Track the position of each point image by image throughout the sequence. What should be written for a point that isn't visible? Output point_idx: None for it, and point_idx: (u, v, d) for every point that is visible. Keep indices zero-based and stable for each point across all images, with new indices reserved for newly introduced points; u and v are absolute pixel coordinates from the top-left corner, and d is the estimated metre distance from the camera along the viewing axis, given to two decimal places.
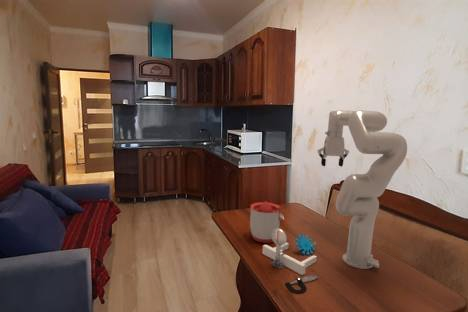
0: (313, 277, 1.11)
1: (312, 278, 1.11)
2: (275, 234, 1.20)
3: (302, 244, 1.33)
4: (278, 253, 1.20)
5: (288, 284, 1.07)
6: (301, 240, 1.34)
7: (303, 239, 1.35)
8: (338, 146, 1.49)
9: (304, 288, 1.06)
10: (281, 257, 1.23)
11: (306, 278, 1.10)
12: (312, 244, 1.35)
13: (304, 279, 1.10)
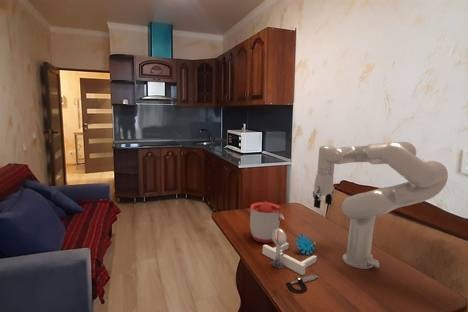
0: (313, 277, 1.12)
1: (312, 278, 1.12)
2: (275, 234, 1.20)
3: (302, 244, 1.33)
4: (278, 253, 1.20)
5: (288, 284, 1.07)
6: (301, 240, 1.34)
7: (303, 239, 1.35)
8: None
9: (304, 288, 1.06)
10: (281, 257, 1.23)
11: (306, 278, 1.11)
12: (312, 244, 1.35)
13: (304, 279, 1.10)
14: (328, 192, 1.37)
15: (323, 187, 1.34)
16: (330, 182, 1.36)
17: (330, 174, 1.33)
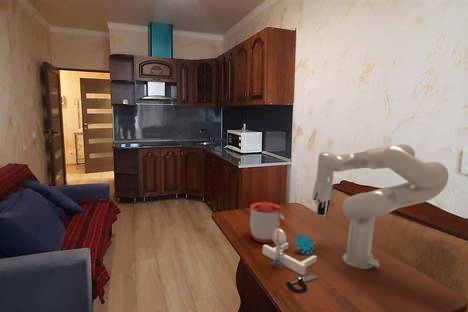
0: (313, 276, 1.12)
1: (313, 277, 1.12)
2: (275, 234, 1.20)
3: (302, 244, 1.33)
4: (278, 253, 1.20)
5: (289, 284, 1.07)
6: (301, 240, 1.34)
7: (303, 239, 1.35)
8: None
9: (305, 287, 1.06)
10: (281, 257, 1.23)
11: (306, 277, 1.11)
12: (312, 244, 1.35)
13: (304, 278, 1.10)
14: (327, 199, 1.38)
15: (322, 194, 1.34)
16: (329, 189, 1.37)
17: (329, 181, 1.34)
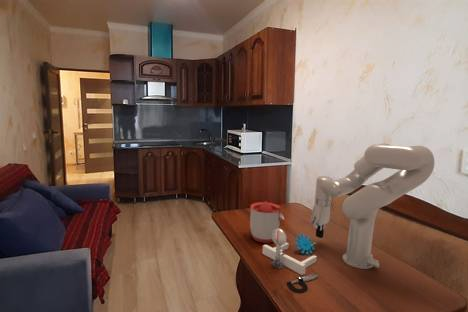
0: (313, 276, 1.12)
1: (313, 277, 1.12)
2: (275, 234, 1.20)
3: (302, 244, 1.33)
4: (278, 253, 1.20)
5: (289, 283, 1.07)
6: (301, 240, 1.35)
7: (303, 239, 1.35)
8: None
9: (305, 287, 1.07)
10: (281, 257, 1.23)
11: (307, 277, 1.11)
12: (312, 244, 1.35)
13: (305, 278, 1.11)
14: (325, 222, 1.39)
15: (320, 218, 1.36)
16: (327, 212, 1.38)
17: (327, 205, 1.35)
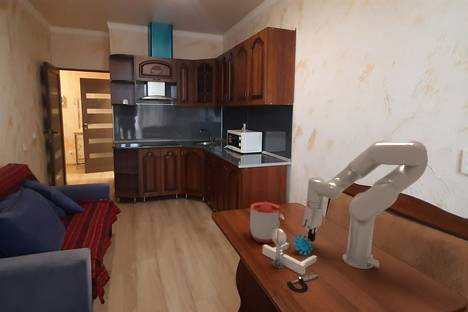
0: (313, 275, 1.13)
1: (313, 276, 1.12)
2: (275, 234, 1.20)
3: (300, 244, 1.32)
4: (278, 253, 1.20)
5: (290, 283, 1.08)
6: (299, 240, 1.34)
7: (301, 239, 1.34)
8: None
9: (306, 287, 1.07)
10: (281, 257, 1.23)
11: (307, 277, 1.11)
12: (310, 244, 1.34)
13: (305, 278, 1.11)
14: (317, 225, 1.35)
15: (312, 221, 1.31)
16: (319, 215, 1.34)
17: (319, 207, 1.31)
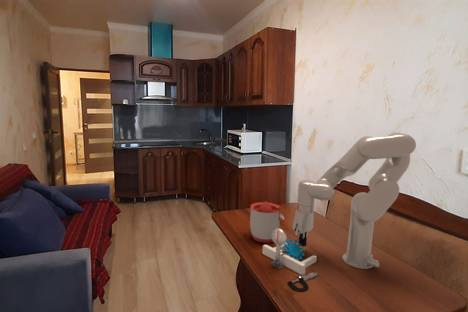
0: (313, 274, 1.13)
1: (312, 275, 1.13)
2: (275, 234, 1.20)
3: (291, 250, 1.27)
4: (278, 253, 1.20)
5: (290, 283, 1.08)
6: (290, 246, 1.28)
7: (292, 244, 1.29)
8: None
9: (306, 286, 1.07)
10: (281, 257, 1.23)
11: (307, 276, 1.12)
12: (301, 249, 1.29)
13: (305, 277, 1.11)
14: (308, 229, 1.30)
15: (302, 225, 1.26)
16: (310, 219, 1.29)
17: (310, 211, 1.26)
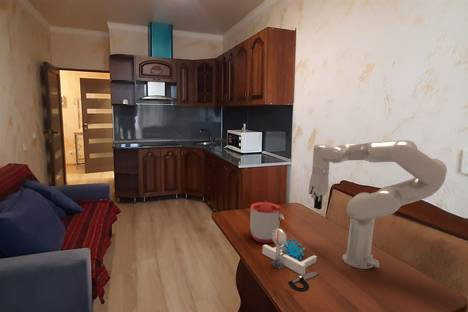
0: (313, 274, 1.14)
1: (313, 275, 1.14)
2: (275, 234, 1.20)
3: (291, 250, 1.27)
4: (278, 253, 1.20)
5: (291, 282, 1.08)
6: (290, 246, 1.28)
7: (292, 244, 1.29)
8: None
9: (307, 285, 1.08)
10: (281, 257, 1.23)
11: (307, 275, 1.12)
12: (301, 249, 1.29)
13: (305, 276, 1.12)
14: (323, 192, 1.34)
15: (318, 187, 1.30)
16: (325, 182, 1.33)
17: (325, 174, 1.30)
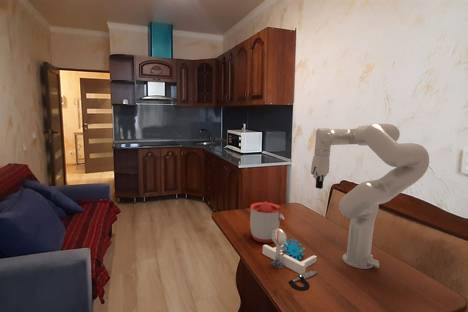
0: (313, 272, 1.15)
1: (312, 274, 1.14)
2: (275, 234, 1.20)
3: (290, 249, 1.27)
4: (278, 253, 1.20)
5: (292, 282, 1.08)
6: (289, 245, 1.28)
7: (292, 244, 1.29)
8: None
9: (307, 284, 1.08)
10: (281, 257, 1.23)
11: (307, 274, 1.13)
12: (301, 249, 1.29)
13: (305, 275, 1.12)
14: (324, 173, 1.44)
15: (320, 167, 1.40)
16: (326, 163, 1.43)
17: (326, 155, 1.40)
